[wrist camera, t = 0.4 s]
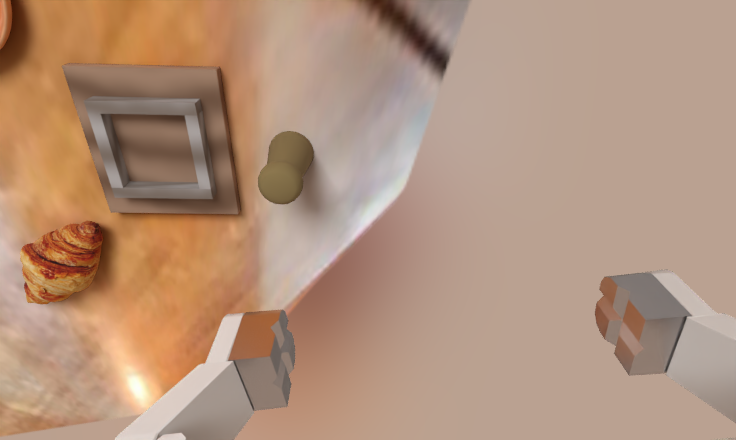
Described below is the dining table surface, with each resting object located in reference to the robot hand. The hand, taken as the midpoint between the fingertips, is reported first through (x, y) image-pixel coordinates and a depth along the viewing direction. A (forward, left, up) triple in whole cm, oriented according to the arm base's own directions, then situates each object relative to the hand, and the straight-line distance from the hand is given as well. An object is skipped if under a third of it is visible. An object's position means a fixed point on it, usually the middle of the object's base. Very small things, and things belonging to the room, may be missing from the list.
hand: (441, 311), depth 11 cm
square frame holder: (+14, -28, -46) cm, 55 cm away
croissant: (+33, -47, -46) cm, 74 cm away
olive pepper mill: (+15, -11, -46) cm, 50 cm away
